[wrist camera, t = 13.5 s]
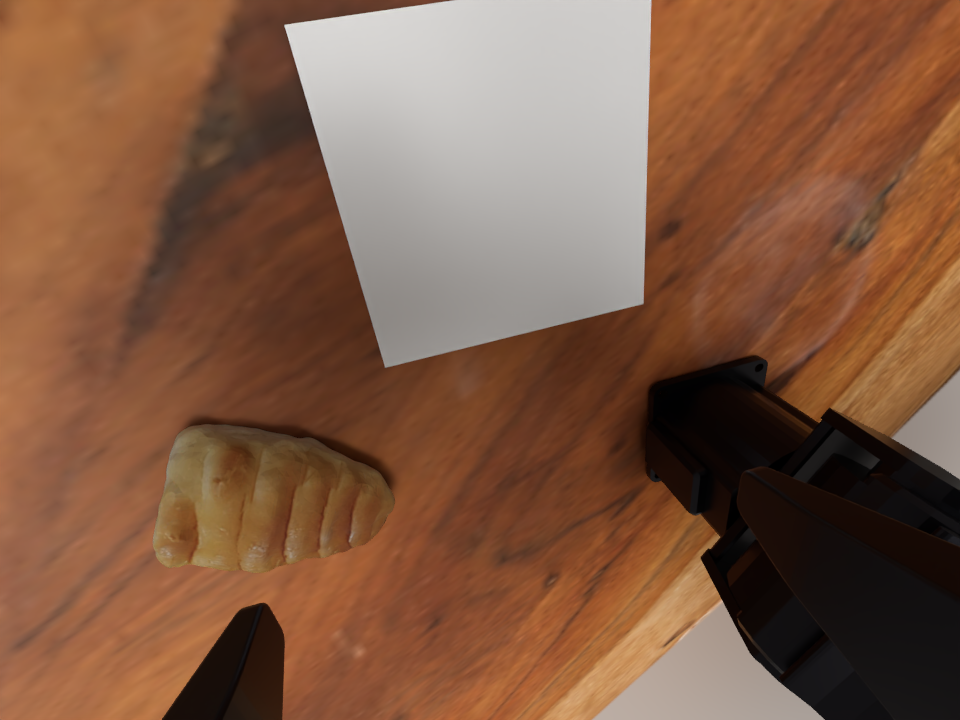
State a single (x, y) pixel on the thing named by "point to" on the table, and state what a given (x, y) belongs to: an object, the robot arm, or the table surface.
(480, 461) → the table surface
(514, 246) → the stand
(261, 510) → the pastry
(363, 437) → the table surface
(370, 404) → the table surface
